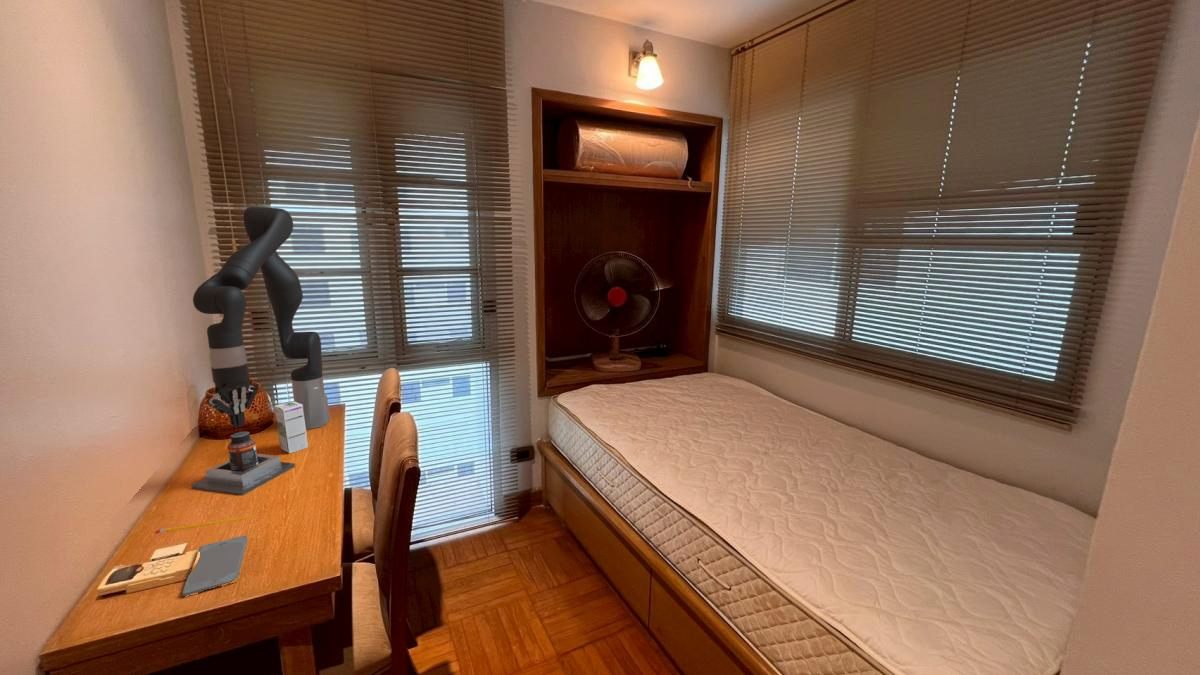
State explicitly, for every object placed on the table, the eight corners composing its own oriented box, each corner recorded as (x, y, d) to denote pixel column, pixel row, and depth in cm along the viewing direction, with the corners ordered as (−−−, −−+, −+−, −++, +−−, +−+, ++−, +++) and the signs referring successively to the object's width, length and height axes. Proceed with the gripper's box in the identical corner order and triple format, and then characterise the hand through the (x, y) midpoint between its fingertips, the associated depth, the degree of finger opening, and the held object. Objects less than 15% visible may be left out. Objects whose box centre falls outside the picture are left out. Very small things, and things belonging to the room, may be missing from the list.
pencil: (158, 532, 103) (157, 529, 103) (256, 517, 110) (255, 514, 109) (156, 534, 103) (155, 531, 103) (254, 519, 109) (254, 516, 109)
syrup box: (309, 447, 146) (303, 403, 144) (288, 454, 141) (282, 408, 139) (299, 443, 149) (294, 400, 147) (279, 450, 144) (273, 405, 142)
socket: (248, 461, 137) (246, 448, 136) (295, 466, 134) (293, 453, 133) (191, 488, 122) (189, 473, 121) (242, 495, 118) (240, 480, 118)
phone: (181, 601, 84) (180, 595, 84) (200, 551, 97) (199, 546, 97) (238, 585, 88) (237, 579, 88) (248, 539, 102) (247, 534, 101)
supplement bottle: (264, 468, 130) (259, 430, 128) (246, 479, 124) (241, 439, 122) (245, 467, 131) (239, 429, 129) (226, 477, 125) (220, 438, 123)
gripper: (241, 356, 129) (249, 416, 132) (191, 368, 116) (201, 434, 119) (264, 358, 127) (271, 418, 130) (215, 370, 114) (225, 437, 118)
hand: (238, 426), depth 125 cm, fingers closed
